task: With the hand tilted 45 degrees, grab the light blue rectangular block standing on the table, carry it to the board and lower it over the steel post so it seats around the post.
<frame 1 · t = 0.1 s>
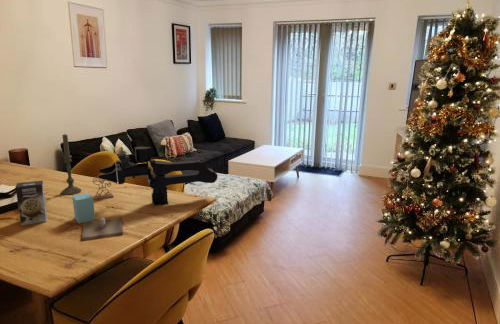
hand: (99, 173, 152), 17 cm above the table, fingers open, 9 cm apart
candlestick holder: (71, 192, 178), on the table
post board: (103, 229, 136), on the table
light blue rectangular block: (85, 219, 145), on the table
brown scrollwork stand: (103, 197, 170), on the table
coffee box: (34, 221, 143), on the table
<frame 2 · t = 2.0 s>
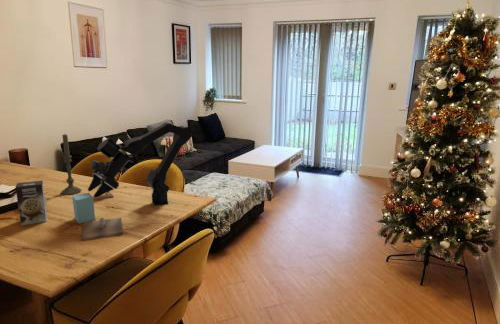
hand: (91, 193, 145), 10 cm above the table, fingers open, 9 cm apart
nothing on the table moved.
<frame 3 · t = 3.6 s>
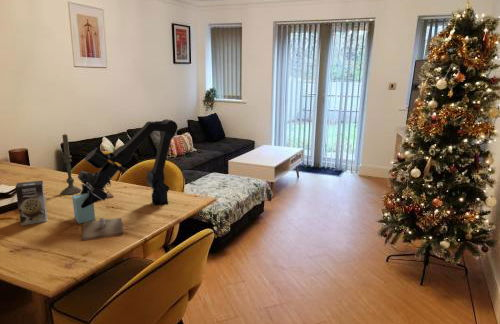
hand: (79, 205, 143), 7 cm above the table, fingers closed on light blue rectangular block, 6 cm apart
light blue rectangular block: (85, 219, 145), on the table, touching gripper
everything else where it was.
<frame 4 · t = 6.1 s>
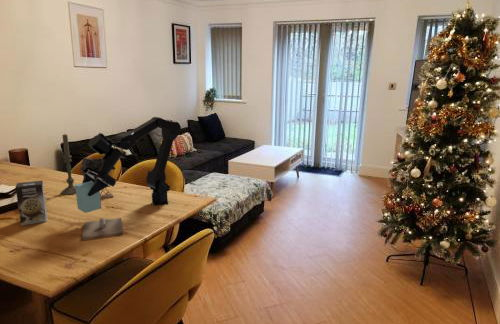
hand: (84, 193, 136), 13 cm above the table, fingers closed on light blue rectangular block, 6 cm apart
light blue rectangular block: (89, 208, 139), point 7 cm above the table, touching gripper
everything else where it was.
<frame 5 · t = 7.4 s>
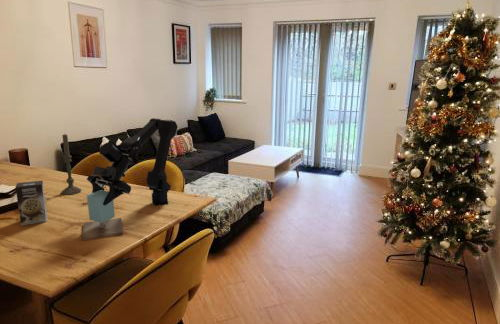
hand: (97, 203, 132), 11 cm above the table, fingers closed on light blue rectangular block, 6 cm apart
light blue rectangular block: (102, 218, 135), point 5 cm above the table, touching gripper
everything else where it was.
when the fingers open (8 cm above the table, at t = 8.5 s): light blue rectangular block stays where it is, resting on post board.
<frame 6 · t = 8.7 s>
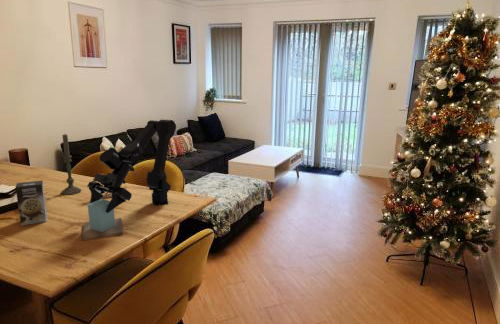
hand: (98, 210, 133), 9 cm above the table, fingers open, 9 cm apart
light blue rectangular block: (102, 227, 136), point 1 cm above the table, touching post board
everything else where it was.
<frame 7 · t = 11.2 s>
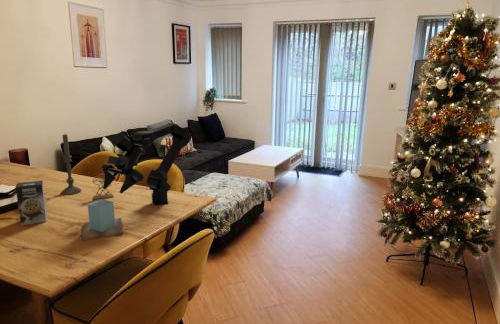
hand: (112, 190, 140), 13 cm above the table, fingers open, 9 cm apart
nothing on the table moved.
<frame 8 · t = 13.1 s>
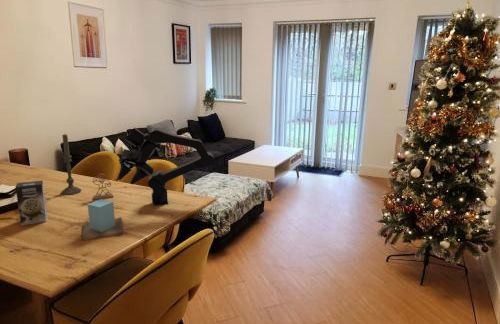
hand: (124, 181, 151), 14 cm above the table, fingers open, 9 cm apart
nothing on the table moved.
at the end: light blue rectangular block 0.0 cm from the post board (horizontally); light blue rectangular block point 1.0 cm above the table; light blue rectangular block tilted 0° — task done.
